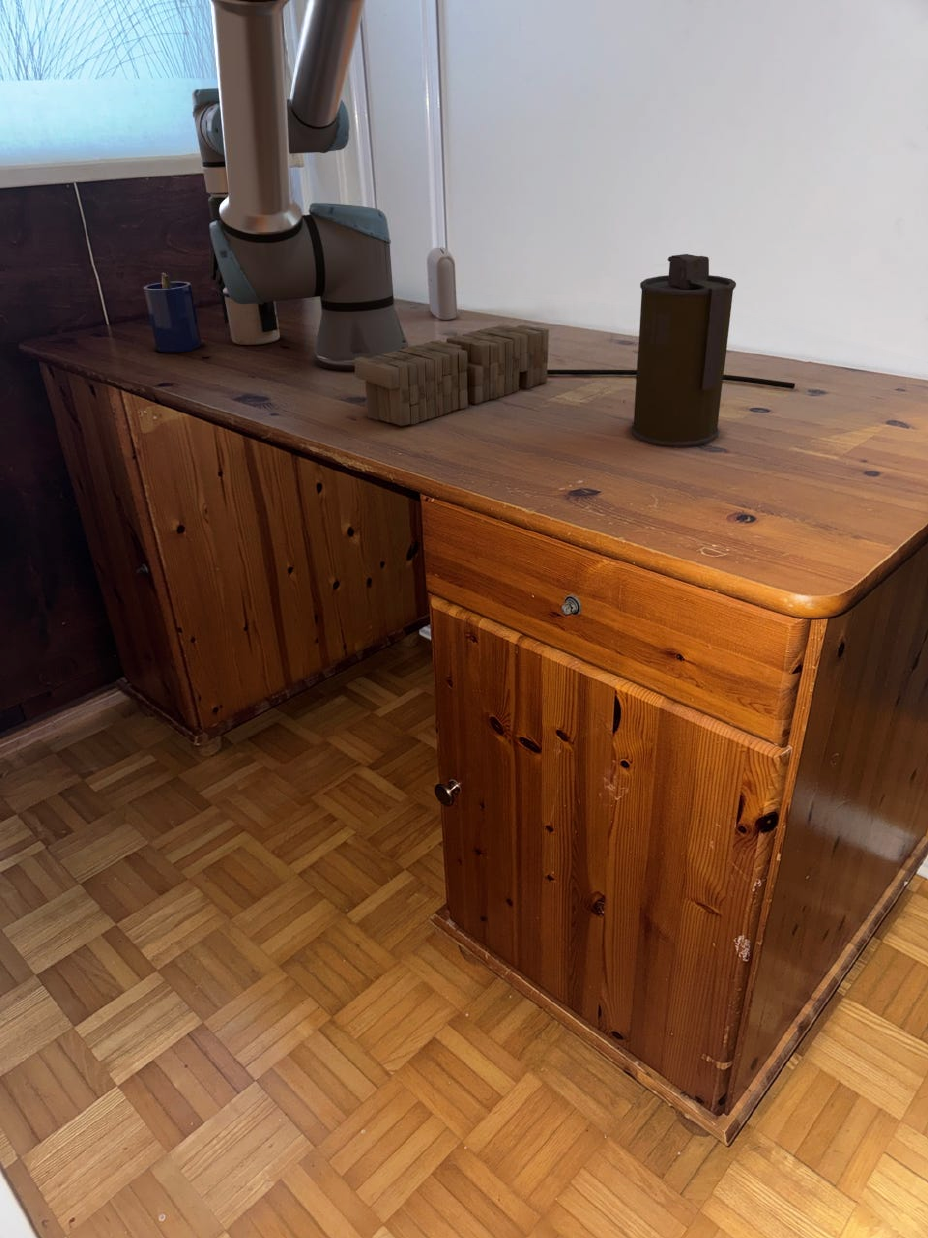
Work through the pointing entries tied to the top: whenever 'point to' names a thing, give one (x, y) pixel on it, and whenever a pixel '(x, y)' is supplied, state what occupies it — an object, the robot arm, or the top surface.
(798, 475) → the top surface
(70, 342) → the top surface
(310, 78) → the robot arm
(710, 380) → the canister
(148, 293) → the pen pot
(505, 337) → the block tower
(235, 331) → the teacup with lid
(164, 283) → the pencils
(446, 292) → the photo printer
